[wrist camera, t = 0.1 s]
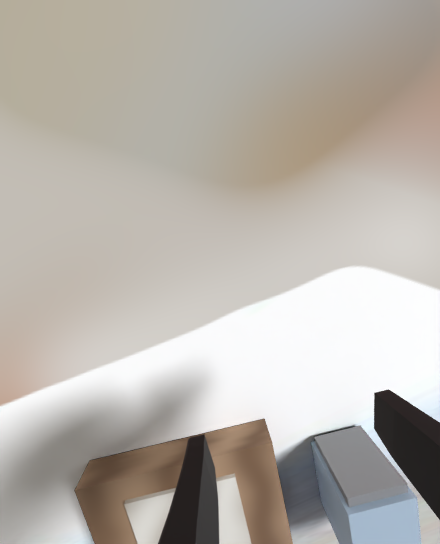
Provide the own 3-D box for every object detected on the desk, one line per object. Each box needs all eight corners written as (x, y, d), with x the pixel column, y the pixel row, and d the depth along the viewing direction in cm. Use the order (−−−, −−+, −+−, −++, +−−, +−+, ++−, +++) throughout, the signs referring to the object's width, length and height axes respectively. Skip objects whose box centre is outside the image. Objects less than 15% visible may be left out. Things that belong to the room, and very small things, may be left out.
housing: (369, 489, 24) (424, 573, 18) (320, 501, 24) (359, 590, 18) (360, 421, 22) (416, 488, 17) (309, 434, 22) (346, 505, 16)
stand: (264, 418, 22) (272, 445, 19) (284, 515, 23) (294, 552, 21) (89, 460, 21) (72, 494, 18) (123, 555, 23) (112, 599, 20)
